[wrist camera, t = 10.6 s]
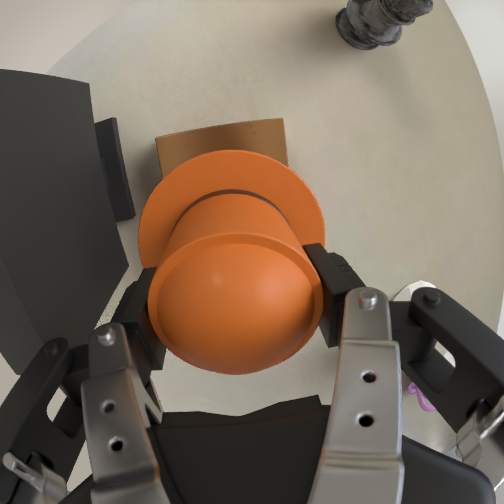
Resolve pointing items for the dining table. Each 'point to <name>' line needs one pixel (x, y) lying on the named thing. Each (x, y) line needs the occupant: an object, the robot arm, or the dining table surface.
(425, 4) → the chess piece
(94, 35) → the dining table surface
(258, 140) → the stand
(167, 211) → the hat
